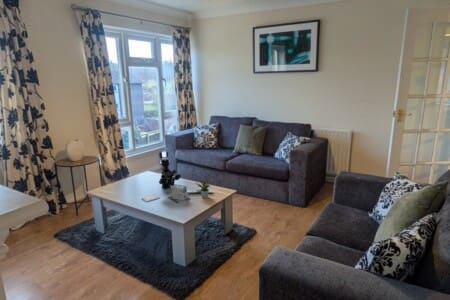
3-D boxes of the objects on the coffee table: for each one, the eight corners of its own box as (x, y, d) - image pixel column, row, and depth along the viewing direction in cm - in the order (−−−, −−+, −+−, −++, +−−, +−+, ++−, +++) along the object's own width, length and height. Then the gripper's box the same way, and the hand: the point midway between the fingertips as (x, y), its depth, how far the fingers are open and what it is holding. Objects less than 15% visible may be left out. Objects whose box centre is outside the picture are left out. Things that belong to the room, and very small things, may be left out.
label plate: (155, 194, 250) (154, 194, 249) (159, 198, 243) (159, 197, 243) (141, 198, 242) (141, 197, 242) (146, 202, 236) (146, 201, 235)
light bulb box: (187, 197, 243) (186, 185, 240) (183, 200, 237) (183, 188, 234) (175, 195, 246) (175, 183, 244) (171, 198, 240) (171, 186, 237)
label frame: (181, 193, 252) (181, 193, 252) (190, 198, 241) (190, 198, 241) (167, 197, 244) (167, 197, 244) (176, 203, 233) (176, 202, 233)
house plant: (207, 191, 255) (206, 173, 251) (217, 196, 245) (217, 177, 241) (193, 196, 246) (193, 177, 242) (203, 201, 236) (203, 182, 232)
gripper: (159, 169, 240) (166, 185, 235) (179, 165, 252) (186, 180, 246) (155, 176, 248) (162, 192, 243) (175, 171, 260) (182, 186, 254)
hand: (174, 187), depth 246 cm, fingers closed
